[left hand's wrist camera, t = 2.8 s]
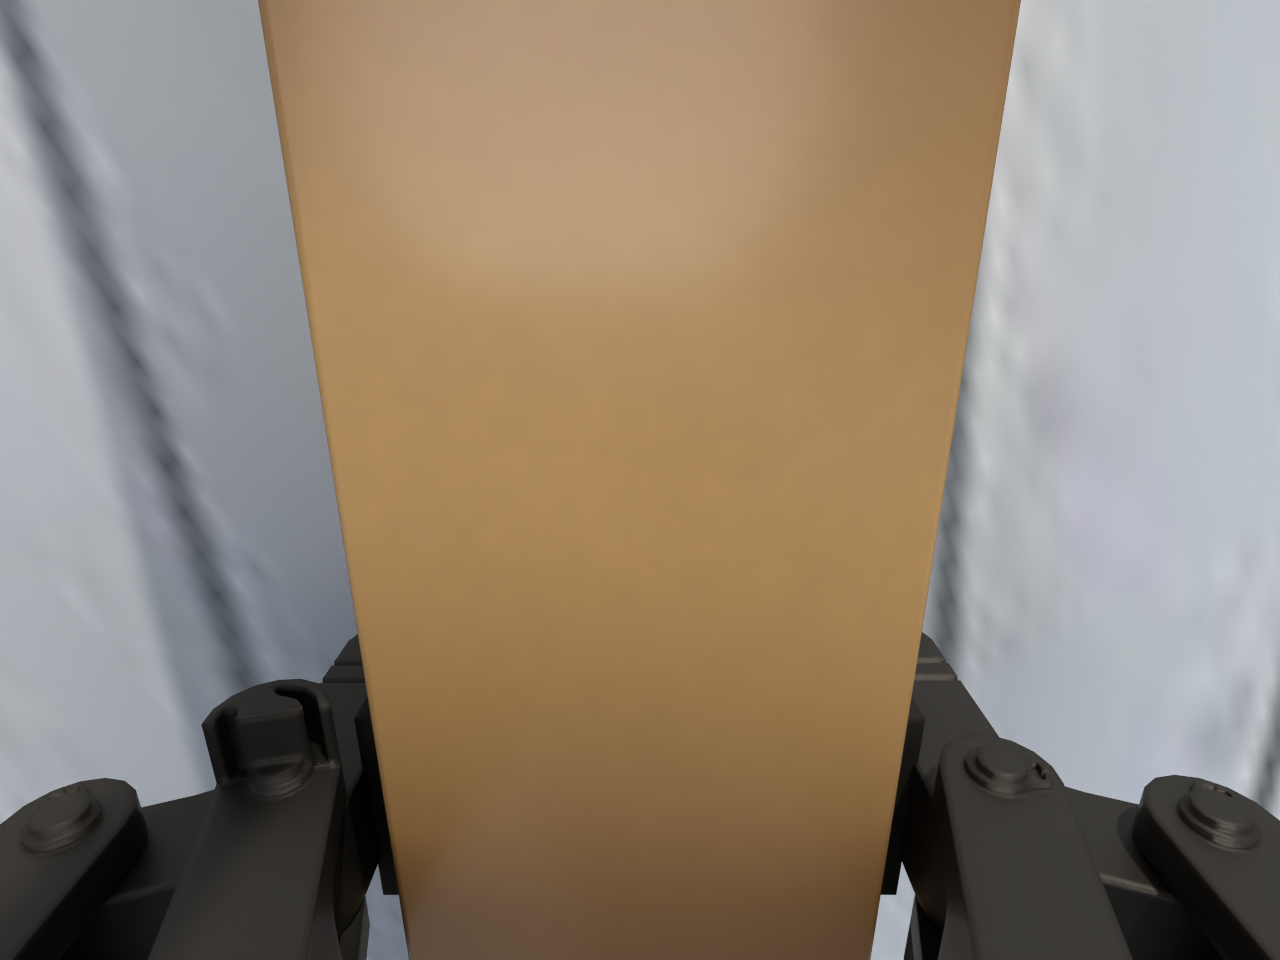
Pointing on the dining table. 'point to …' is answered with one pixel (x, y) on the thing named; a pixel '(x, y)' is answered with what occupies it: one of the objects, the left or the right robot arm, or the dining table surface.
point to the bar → (639, 440)
